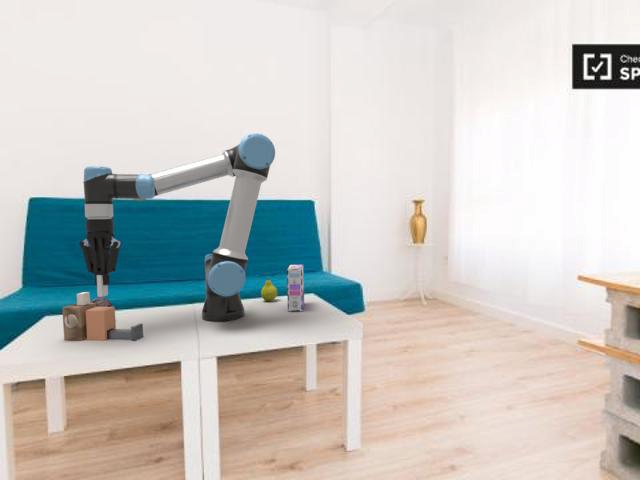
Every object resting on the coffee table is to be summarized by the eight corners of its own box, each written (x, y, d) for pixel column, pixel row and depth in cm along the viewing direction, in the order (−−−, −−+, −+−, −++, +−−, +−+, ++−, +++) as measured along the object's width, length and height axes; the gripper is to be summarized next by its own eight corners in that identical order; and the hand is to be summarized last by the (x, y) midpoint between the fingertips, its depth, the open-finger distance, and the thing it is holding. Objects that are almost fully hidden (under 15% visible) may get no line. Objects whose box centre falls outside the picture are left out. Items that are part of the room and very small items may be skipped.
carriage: (116, 335, 130) (114, 306, 129) (105, 340, 125) (103, 310, 124) (98, 334, 131) (97, 306, 130) (87, 339, 126) (85, 310, 125)
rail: (143, 336, 128) (142, 323, 128) (134, 340, 124) (134, 327, 123) (92, 334, 131) (91, 322, 130) (82, 339, 126) (81, 326, 126)
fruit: (279, 299, 179) (278, 271, 179) (275, 302, 173) (275, 274, 172) (263, 299, 180) (262, 272, 179) (259, 302, 173) (258, 274, 172)
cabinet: (97, 333, 132) (96, 302, 131) (80, 341, 124) (78, 307, 123) (80, 333, 133) (79, 301, 132) (62, 340, 125) (60, 307, 124)
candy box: (303, 311, 156) (302, 268, 155) (287, 312, 156) (286, 268, 155) (304, 303, 170) (303, 263, 169) (290, 304, 170) (289, 264, 169)
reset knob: (90, 303, 129) (89, 292, 129) (83, 305, 126) (82, 294, 126) (84, 303, 130) (83, 292, 129) (77, 305, 127) (76, 294, 126)
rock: (78, 332, 139) (110, 329, 141) (74, 308, 137) (107, 305, 139) (89, 318, 150) (119, 315, 152) (85, 296, 148) (116, 293, 150)
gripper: (127, 218, 128) (129, 293, 129) (88, 218, 130) (92, 292, 131) (111, 218, 120) (114, 298, 122) (71, 218, 122) (74, 297, 124)
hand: (102, 295), depth 127 cm, fingers closed
